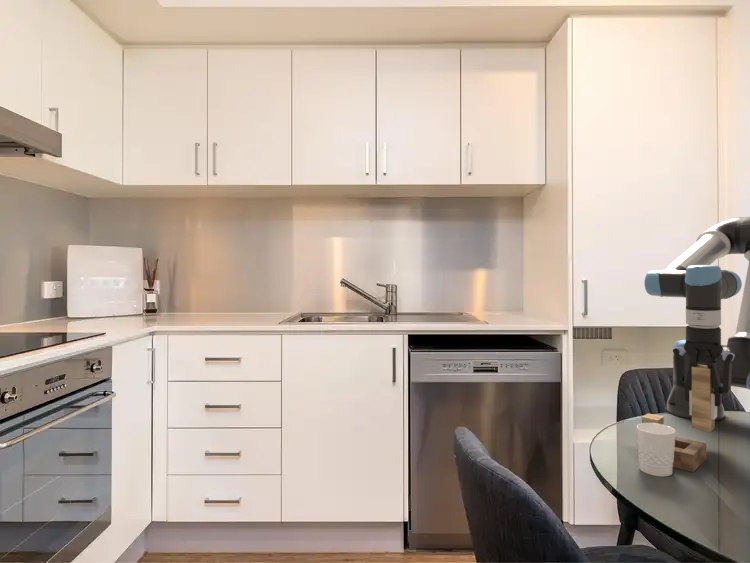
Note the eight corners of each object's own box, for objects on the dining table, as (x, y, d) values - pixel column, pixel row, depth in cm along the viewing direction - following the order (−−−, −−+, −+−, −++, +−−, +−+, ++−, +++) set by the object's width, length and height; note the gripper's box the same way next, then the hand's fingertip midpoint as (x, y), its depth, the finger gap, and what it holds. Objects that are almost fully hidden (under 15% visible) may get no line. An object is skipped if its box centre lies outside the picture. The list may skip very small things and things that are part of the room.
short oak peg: (647, 438, 137) (647, 413, 136) (663, 442, 134) (663, 416, 133) (641, 442, 134) (641, 416, 134) (658, 446, 131) (658, 420, 131)
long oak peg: (696, 424, 133) (696, 364, 132) (714, 427, 130) (714, 366, 129) (691, 428, 130) (691, 367, 129) (709, 431, 127) (709, 369, 126)
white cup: (670, 465, 119) (670, 423, 119) (679, 479, 112) (680, 435, 111) (633, 462, 122) (633, 421, 121) (640, 476, 114) (640, 432, 114)
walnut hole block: (661, 448, 130) (661, 433, 129) (706, 459, 122) (706, 443, 122) (646, 459, 123) (646, 443, 123) (692, 472, 115) (693, 455, 115)
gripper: (661, 325, 132) (661, 412, 133) (739, 330, 119) (739, 427, 121) (671, 321, 137) (671, 405, 138) (747, 326, 124) (747, 419, 126)
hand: (703, 415), depth 130 cm, fingers closed on long oak peg, 4 cm apart
